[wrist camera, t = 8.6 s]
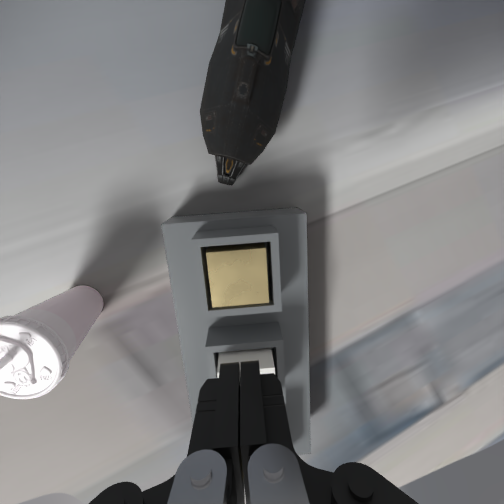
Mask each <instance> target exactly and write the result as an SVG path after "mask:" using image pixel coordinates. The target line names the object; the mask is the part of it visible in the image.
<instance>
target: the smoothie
mask: <svg viewBox="0 0 504 504" xmlns="http://www.w3.org/2000/svg"><path fill="white" fill-rule="evenodd" d="M103 305H104V303H103V298H102V296H101V295H100V293H99V292H98V291H97V290H95V289H94V288H92V287H89V286H84V285H81V286H76V287H74V288H71V289H69V290H67V291H65V292H63V293H61V294H59V295H57V296H54V297H52V298H50V299H48V300H46V301H44V302H42V303H40V304H37V305H35V306H33V307H31V308H29V309H27V310H25V311H23V312H20V313H18V314H16V315H14V316H6V317H2V318H0V395H2V396H5V397H9V398H14V399H31V398H36V397H39V396H42V395H44V394H46V393H48V392H49V391H50V390H52V389H53V388H54V387H55V386H56V384H58V383H59V382H60V381H61V380H62V379H63V378H64V376H65V374H66V372H67V370H68V368H69V361H70V359H71V358H72V356H73V355H74V353H75V351H76V350H77V348H78V347H79V345H80V344H81V342H82V341H83V339H84V338H85V336H86V334H87V333H88V331H89V330H90V328H91V327H92V325H93V324H94V322H95V321H96V319H97V317H98V316H99V314H100V313H101V311H102V309H103Z"/></svg>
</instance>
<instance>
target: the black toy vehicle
mask: <svg viewBox="0 0 504 504" xmlns="http://www.w3.org/2000/svg"><path fill="white" fill-rule="evenodd" d="M304 3H305V0H226V2H225V8H224V13H223V19H222V24H221V29H220V34H219V37H218V40H217V43H216V46H215V49H214V51H213V54H212V57H211V60H210V62H209V67H208V72H207V77H206V82H205V88H204V93H203V98H202V103H201V108H200V115H201V123H202V131H203V137H204V140H205V143H206V146H207V149H208V153H209V154H212V155H215V159H216V166H217V177H218V182H220V183H223V184H227V185H233V184H234V182H235V181H236V179H237V177H238V175H239V173H240V172H241V170H242V169H243V167H244V165H245V164H250V165H251V164H252V163H253V161H254V160H255V159H256V158H257V157H258V156H259V155H260V154H261V153H262V152H263V150H264V149H265V147H266V146H267V144H268V143H269V141H270V140H271V138H272V137H273V135H274V134H275V132H276V128H277V124H278V120H279V116H280V112H281V108H282V104H283V100H284V96H285V92H286V88H287V81H288V74H289V66H290V59H291V55H292V51H293V47H294V43H295V39H296V35H297V31H298V27H299V23H300V19H301V15H302V11H303V7H304Z"/></svg>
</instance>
